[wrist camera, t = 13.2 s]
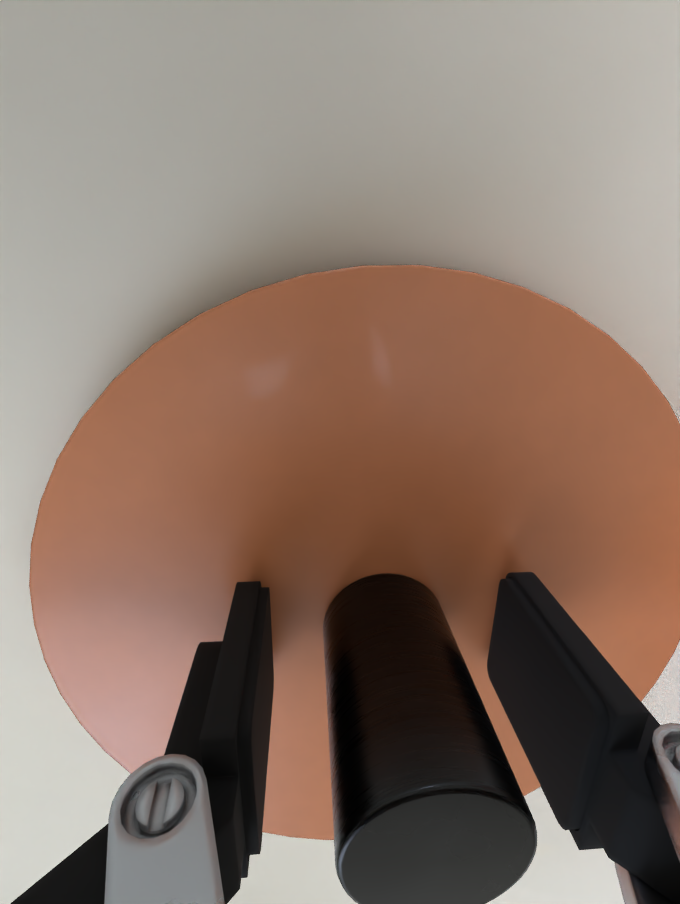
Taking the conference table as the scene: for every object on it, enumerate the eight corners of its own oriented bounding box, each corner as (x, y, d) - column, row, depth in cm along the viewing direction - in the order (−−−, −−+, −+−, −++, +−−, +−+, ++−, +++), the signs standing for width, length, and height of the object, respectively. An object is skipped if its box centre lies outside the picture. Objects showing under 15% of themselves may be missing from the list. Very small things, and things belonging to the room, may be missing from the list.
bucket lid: (-46, 300, 9) (-663, 310, 3) (728, 238, 10) (1338, 158, 4) (138, 830, 15) (29, 1181, 9) (625, 766, 15) (819, 1051, 10)
